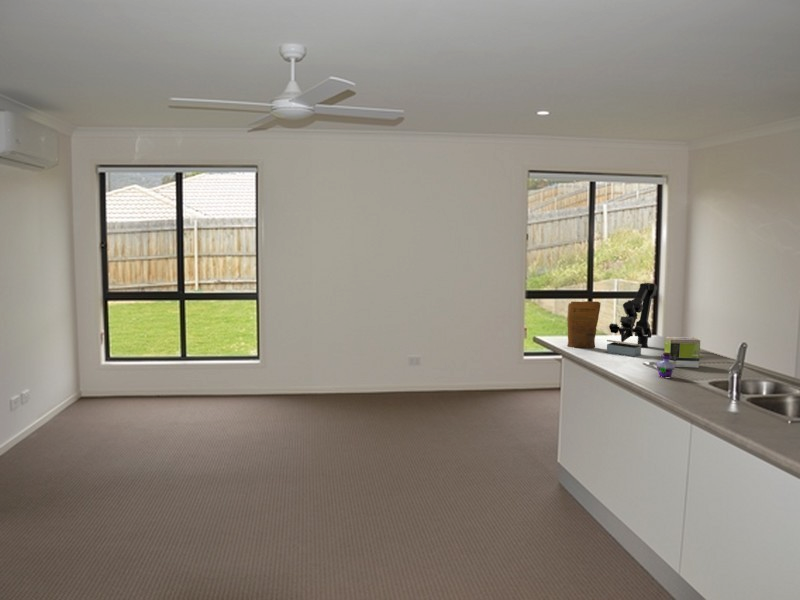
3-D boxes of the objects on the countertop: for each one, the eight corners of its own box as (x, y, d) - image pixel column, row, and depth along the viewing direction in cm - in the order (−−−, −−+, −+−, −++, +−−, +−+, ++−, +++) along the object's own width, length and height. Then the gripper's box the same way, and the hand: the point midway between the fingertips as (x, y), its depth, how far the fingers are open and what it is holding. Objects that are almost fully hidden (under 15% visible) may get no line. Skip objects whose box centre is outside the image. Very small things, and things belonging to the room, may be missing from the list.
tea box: (692, 364, 337) (694, 336, 336) (699, 368, 328) (701, 340, 326) (663, 363, 339) (664, 335, 337) (669, 367, 329) (671, 339, 327)
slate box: (613, 350, 371) (613, 342, 370) (640, 354, 361) (641, 345, 360) (606, 352, 363) (607, 344, 363) (634, 357, 353) (635, 348, 353)
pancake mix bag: (599, 349, 374) (601, 302, 371) (566, 347, 377) (568, 301, 373) (596, 347, 381) (599, 300, 378) (564, 345, 383) (567, 299, 380)
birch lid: (613, 342, 370) (613, 340, 370) (641, 345, 360) (641, 344, 360) (606, 341, 362) (606, 339, 362) (635, 345, 352) (635, 343, 352)
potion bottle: (655, 378, 303) (657, 353, 301) (654, 374, 311) (656, 350, 309) (675, 379, 300) (676, 355, 298) (674, 376, 308) (675, 351, 306)
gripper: (611, 309, 366) (602, 330, 359) (643, 312, 355) (635, 334, 347) (615, 321, 373) (607, 342, 366) (647, 325, 362) (639, 346, 354)
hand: (622, 341), depth 358 cm, fingers closed
